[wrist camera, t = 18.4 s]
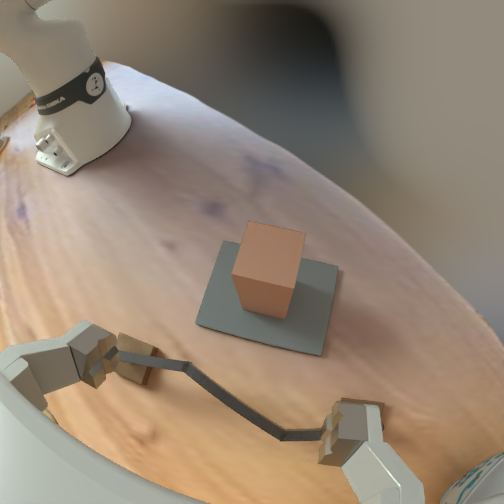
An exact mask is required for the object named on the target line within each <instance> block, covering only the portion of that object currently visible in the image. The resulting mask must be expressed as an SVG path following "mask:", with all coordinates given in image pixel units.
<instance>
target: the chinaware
mask: <svg viewBox="0 0 504 504" xmlns="http://www.w3.org/2000/svg"><path fill="white" fill-rule="evenodd" d="M499 493H504V452H501V453H499V454H496V455H494V456H492V457H490V458H488V459H486V460H485V461H483V462H481V463H480V464H478V465H477V466H476V467H474V468H473V469H472V470H470V471H469V472H468V473H467V474H466V475H464V476H463V477H462V478H460V479H459V480H457V481H456V482H455V483H454V484H453V485H452V486H451V487H450V488H449V489H448V490H447V491H446V493H445V494H444V495H443V497H442V499H441V501H440V503H439V504H471V503H474V502H477V501H480V500H483V499H485V498H488V497H490V496H493V495H496V494H499Z"/></svg>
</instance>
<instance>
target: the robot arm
mask: <svg viewBox="0 0 504 504" xmlns="http://www.w3.org/2000/svg"><path fill="white" fill-rule="evenodd" d="M49 1H51V0H0V52H2V53H3V54H5V55H7V56H8V57H10V58H11V59H12V60H13V61H14V62H15V63H16V64H17V66H18V67H19V69H20V70H21V72H22V73H23V75H24V76H25V78H26V80H27V81H28V83H29V85H30V86H31V88H32V90H33V92H34V93H35V97H34V98H33V99H32V100H31V101H33V100H34V99H35V102H34V103H33V105H34V104H36V107H37V109H38V112H39V114H40V116H39V119H38V122H37V126H36V128H35V132H34V137H35V139H36V141H37V143H36V147H37V149H38V150H39V151H38V153H37V155H36V158H35V159H36V161H37V163H39V164H41V165H43V166H46V167H48V168H50V169H52V170H55V171H57V172H59V173H61V174H63V175H66V176H68V175H70V174H72V173H73V172H75V171H76V170H77V169H78V168H80V167H81V166H82V165H84V164H86V163H88V162H90V161H92V160H94V159H96V158H98V157H99V156H101V155H103V154H104V153H106V152H107V151H108V150H110V149H111V148H112V147H113V146H114V145H116V144H117V143H118V142H119V141H120V140H121V139H122V137H123V136H124V135H125V134H126V132H127V131H128V129H129V127H130V125H131V116H130V114H129V113H128V112H127V111H126V105H125V103H124V101H120V99H119V97H118V95H117V94H116V92H115V90H114V88H113V87H112V85H111V83H110V81H109V80H108V78H106V77H105V71H104V69H103V65H102V63H101V62H100V60H99V58H98V57H96V56H95V55H94V52H93V49H92V47H91V44H90V41H89V39H88V36H87V33H86V30H85V28H84V25H83V24H82V23H81V22H80V21H78V20H77V19H73V18H60V19H53V20H48V21H44V20H42V19H40V18H39V17H38V16H37V14H36V12H35V11H36V10H37V9H38V8H39V7H41V6H43V5H44V4H46V3H48V2H49ZM116 344H117V338H116V335H114V334H113V333H111V332H109V331H107V330H105V329H103V328H101V327H99V326H97V325H95V324H93V323H91V322H89V321H87V320H83V321H81V322H80V323H78V324H77V325H76V326H74V327H73V328H72V329H70V330H69V331H68V332H67V333H65V334H64V335H63V336H61V337H60V338H59V339H58V338H50V339H45V340H40V341H34V342H29V343H23V344H17V345H11V346H9V347H8V348H7V349H5V350H4V351H3V352H1V353H0V504H210V503H207V502H204V501H201V500H198V499H195V498H192V497H189V496H186V495H183V494H181V493H178V492H176V491H173V490H171V489H168V488H166V487H163V486H161V485H159V484H156V483H154V482H152V481H150V480H148V479H145V478H143V477H141V476H139V475H137V474H135V473H133V472H131V471H129V470H127V469H126V468H124V467H122V466H120V465H118V464H116V463H115V462H113V461H111V460H109V459H108V458H106V457H104V456H103V455H101V454H99V453H98V452H96V451H94V450H93V449H91V448H90V447H88V446H87V445H85V444H84V443H82V442H81V441H79V440H78V439H76V438H75V437H74V436H72V435H71V434H69V433H68V432H67V431H65V430H64V429H63V428H61V427H60V426H59V425H57V424H56V423H55V422H54V421H52V420H51V419H50V418H49V417H47V416H46V415H45V414H44V413H43V411H44V410H45V409H46V408H47V407H48V403H47V401H46V399H45V397H44V394H47V393H50V392H52V391H55V390H58V389H61V388H63V387H66V386H69V385H71V384H74V383H77V382H79V381H80V380H81V381H83V382H85V383H87V384H88V385H90V386H92V387H94V388H95V389H97V388H98V387H99V386H100V385H101V384H102V383H103V382H104V381H105V379H106V374H108V373H111V372H113V371H114V370H115V369H116V367H117V365H118V363H119V357H120V355H119V351H118V349H117V348H116V346H115V345H116ZM320 439H321V440H322V442H323V444H322V446H321V447H320V449H319V459H318V464H322V465H330V466H339V467H341V469H342V471H343V473H344V475H345V476H346V478H347V480H348V482H349V484H350V486H351V487H352V489H353V491H354V493H355V495H356V496H357V498H358V500H359V502H360V504H425V496H424V486H423V484H422V482H421V481H420V480H419V479H418V478H417V477H416V475H415V474H414V473H413V472H412V471H411V470H410V468H409V467H408V466H407V465H406V464H405V463H404V461H403V460H402V459H401V458H400V457H399V456H398V454H397V453H396V452H395V451H394V450H393V449H392V447H391V446H390V445H389V444H388V443H387V442H383V433H382V425H381V417H380V410H379V407H378V405H367V404H359V403H350V402H342V401H336V402H335V403H334V405H333V406H332V413H331V414H328V415H327V417H326V419H325V420H324V423H323V426H322V430H321V438H320ZM471 504H504V493H499V494H496V495H493V496H490V497H488V498H485V499H483V500H480V501H477V502H474V503H471Z"/></svg>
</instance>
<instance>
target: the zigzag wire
mask: <svg viewBox="0 0 504 504" xmlns="http://www.w3.org/2000/svg"><path fill="white" fill-rule="evenodd" d="M115 346H116V348H117V349H118V351H119V355H120V357H119V363H118V365H117V367H116V369H115V370H114V372H116V373H118V374H120V375H122V376H124V377H126V378H128V379H130V380H132V381H134V382H136V383H138V384H141V385H146V384H147V380H148V377H149V374H150V371H151V368H152V367H156V368H162V369H168V370H174V371H181V372H184V373H186V374H187V375H188V376H189V377H190V378H192V379H193V380H194V381H195V382H197V383H198V384H199V385H200V386H202V387H203V388H204V389H206V390H207V391H208V392H209V393H211V394H212V395H213V396H215V397H216V398H217V399H219V400H220V401H222V402H223V403H224V404H226V405H227V406H228V407H230V408H231V409H233V410H234V411H235V412H237V413H238V414H240V415H241V416H243V417H244V418H246V419H247V420H249V421H250V422H252V423H253V424H255V425H256V426H258V427H259V428H261V429H262V430H264V431H266V432H267V433H269V434H270V435H272V436H274V437H275V438H277V439H279V440H280V441H317V440H321V439H320V438H321V430H322V428H316V429H284V428H282V427H281V426H279V425H277V424H276V423H274V422H273V421H271V420H269V419H268V418H266V417H265V416H263V415H262V414H260V413H259V412H257V411H256V410H254V409H253V408H251V407H250V406H248V405H247V404H245V403H244V402H242V401H241V400H240V399H238V398H237V397H235V396H234V395H233V394H231V393H230V392H228V391H227V390H226V389H224V388H223V387H222V386H220V385H219V384H218V383H216V382H215V381H214V380H212V379H211V378H210V377H208V376H207V375H206V374H205V373H203V372H202V371H201V370H199V369H198V368H197V367H196V366H194V365H193V364H192V362H188V361H187V362H186V361H179V360H172V359H165V358H159V357H155V355H156V352H157V349H158V348H157V347H154V346H152V345H149V344H147V343H144V342H142V341H139V340H137V339H135V338H132V337H130V336H128V335H125V334H123V333H119V336H118V338H117V344H116V345H115ZM341 401H342V402H350V403H359V404H367V405H378V407H379V410H380V417H381V415H382V411H383V407H384V403H382V402H374V401H365V400H357V399H350V398H343V397H342V398H341ZM381 425H382V433H383V430H384V425H383V423H381Z"/></svg>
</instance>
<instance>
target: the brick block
mask: <svg viewBox="0 0 504 504" xmlns="http://www.w3.org/2000/svg"><path fill="white" fill-rule="evenodd" d="M305 236H306V233H303V232H298V231H294V230H289V229H284V228H280V227H275V226H270V225H266V224H261V223H256V222H251V221H248V224H247V227H246V230H245V233H244V236H243V240H242V243H241V246H240V249H239V252H238V255H237V258H236V261H235V264H234V267H233V270H232V273H231V274H232V277H233V280H234V284H235V287H236V290H237V293H238V296H239V299H240V302H241V305H242V308H243V309H244V310H248V311H252V312H256V313H260V314H264V315H268V316H272V317H276V318H281V319H285V317H286V314H287V311H288V307H289V304H290V301H291V297H292V294H293V291H294V287H295V282H296V278H297V273H298V269H299V264H300V260H301V255H302V250H303V246H304V241H305Z"/></svg>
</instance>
